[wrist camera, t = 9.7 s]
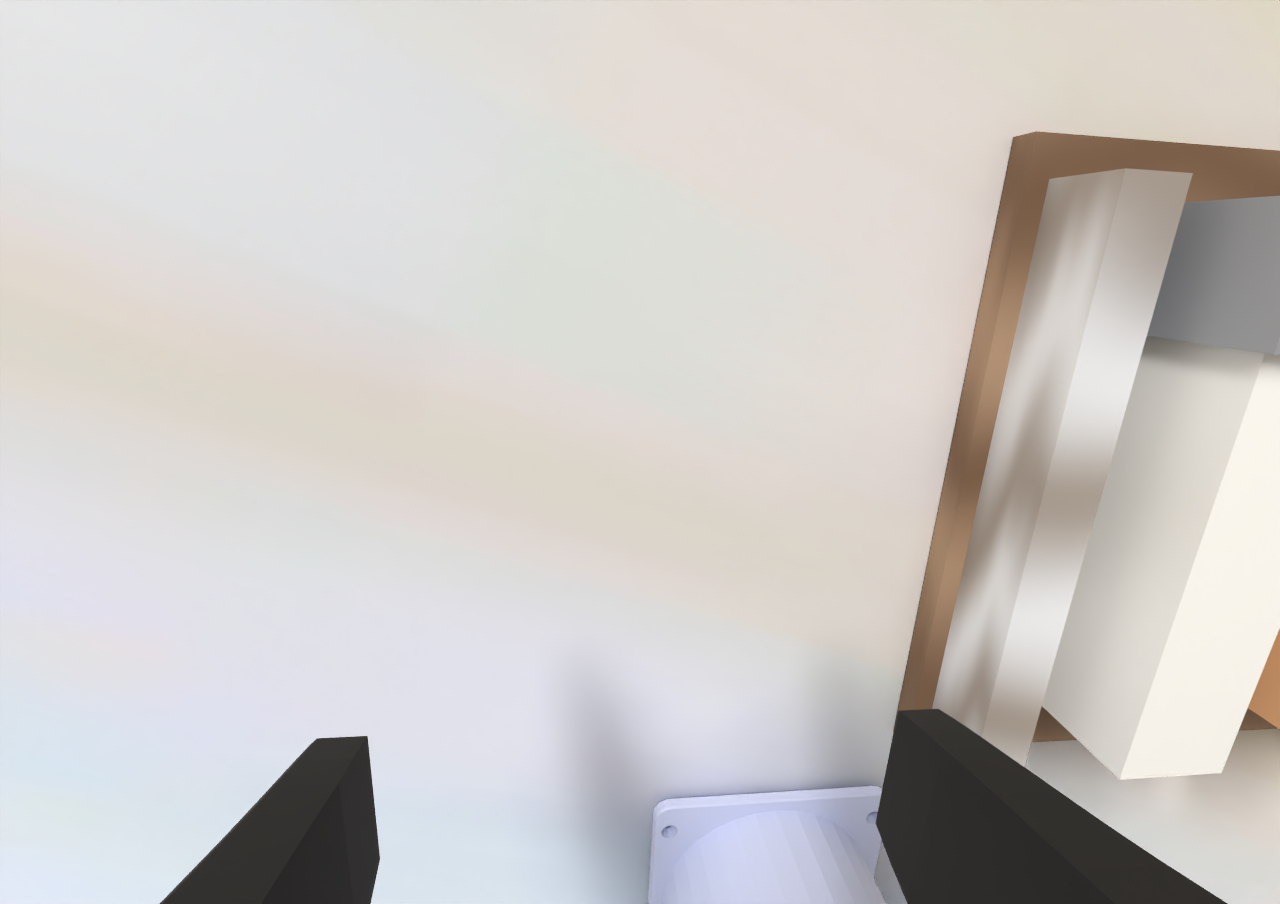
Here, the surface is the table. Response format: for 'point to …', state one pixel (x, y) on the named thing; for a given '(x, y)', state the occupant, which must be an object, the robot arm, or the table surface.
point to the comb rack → (1049, 412)
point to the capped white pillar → (1186, 515)
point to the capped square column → (1269, 688)
